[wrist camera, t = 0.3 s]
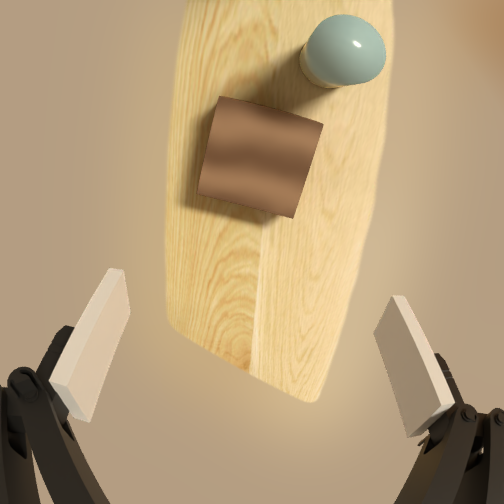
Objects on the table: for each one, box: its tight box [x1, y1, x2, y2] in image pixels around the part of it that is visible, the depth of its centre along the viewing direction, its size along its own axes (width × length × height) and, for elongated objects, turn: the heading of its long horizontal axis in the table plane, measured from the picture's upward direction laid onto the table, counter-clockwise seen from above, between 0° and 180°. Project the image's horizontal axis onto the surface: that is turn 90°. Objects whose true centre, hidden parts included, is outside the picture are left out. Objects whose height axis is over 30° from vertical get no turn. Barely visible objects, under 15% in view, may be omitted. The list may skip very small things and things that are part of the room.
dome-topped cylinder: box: [299, 15, 386, 88], centre depth 26 cm, size 7×7×11 cm
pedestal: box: [197, 96, 324, 219], centre depth 36 cm, size 12×12×4 cm
